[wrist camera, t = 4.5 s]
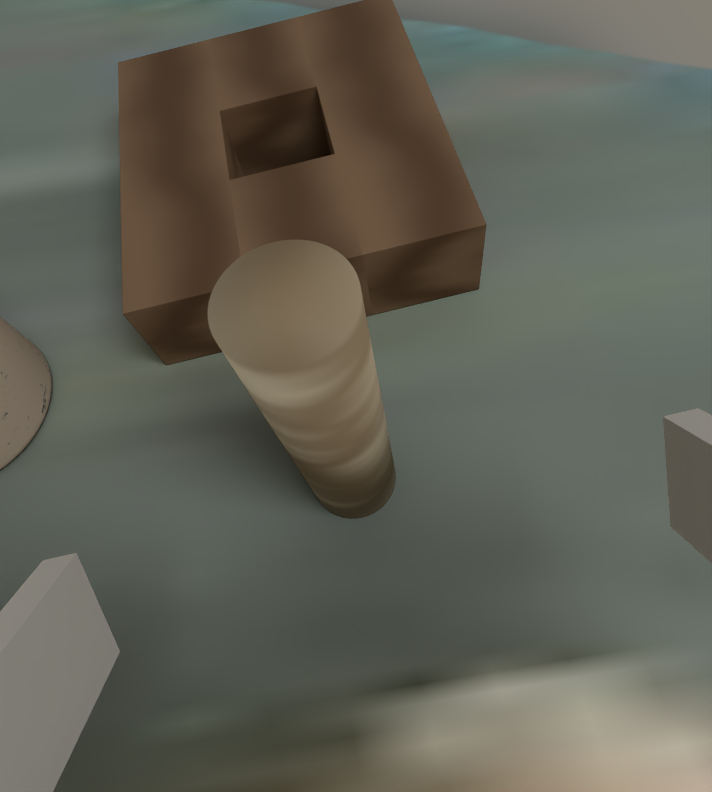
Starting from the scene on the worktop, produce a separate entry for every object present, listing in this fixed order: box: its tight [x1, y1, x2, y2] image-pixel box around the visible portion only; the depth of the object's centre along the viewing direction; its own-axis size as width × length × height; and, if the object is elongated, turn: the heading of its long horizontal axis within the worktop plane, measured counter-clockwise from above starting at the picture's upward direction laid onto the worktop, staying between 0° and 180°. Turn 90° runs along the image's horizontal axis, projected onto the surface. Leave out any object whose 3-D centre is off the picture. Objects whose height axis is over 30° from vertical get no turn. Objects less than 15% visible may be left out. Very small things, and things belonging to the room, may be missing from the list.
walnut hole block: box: [118, 0, 486, 365], centre depth 30 cm, size 16×18×4 cm
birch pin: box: [208, 240, 396, 518], centre depth 19 cm, size 4×4×13 cm
